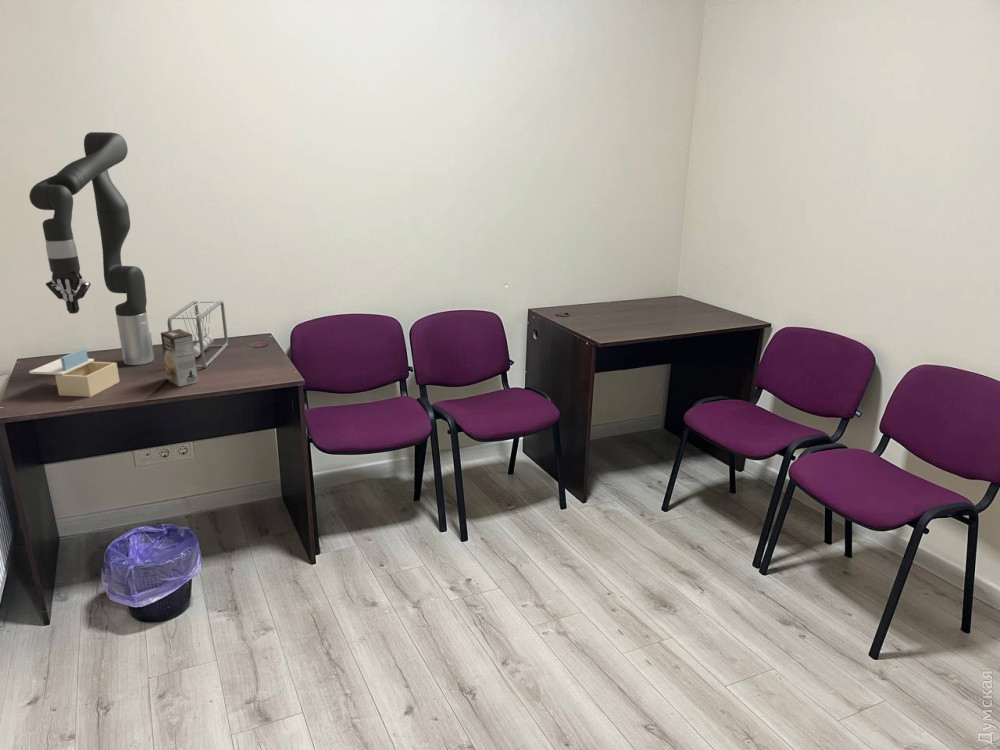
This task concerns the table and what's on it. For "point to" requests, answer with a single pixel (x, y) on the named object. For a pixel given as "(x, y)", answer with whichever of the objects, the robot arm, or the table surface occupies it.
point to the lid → (64, 364)
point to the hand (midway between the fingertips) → (73, 312)
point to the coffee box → (179, 357)
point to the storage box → (88, 379)
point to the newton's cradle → (207, 339)
